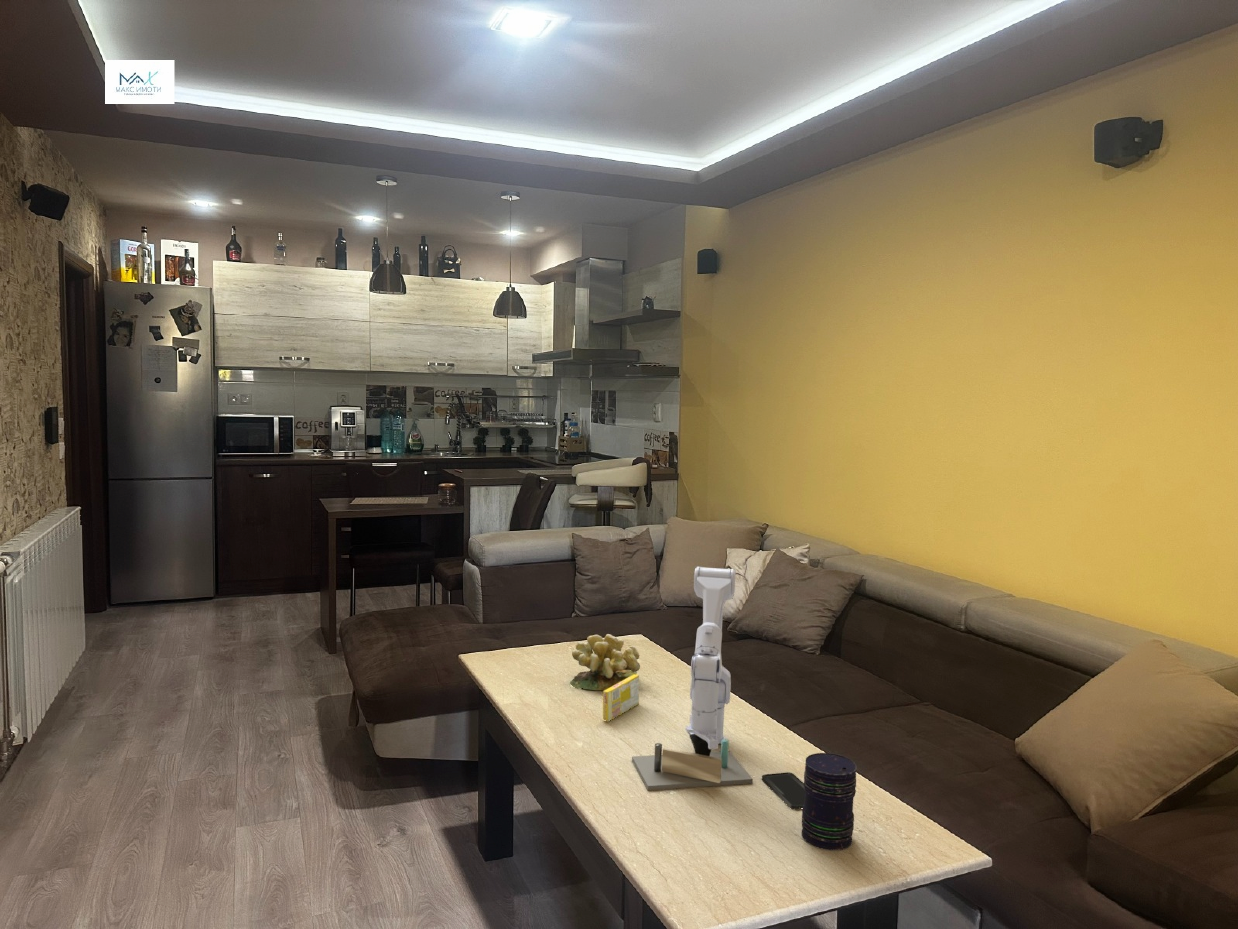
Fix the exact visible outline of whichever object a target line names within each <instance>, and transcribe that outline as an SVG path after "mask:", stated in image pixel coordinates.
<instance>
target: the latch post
mask: <svg viewBox="0 0 1238 929" xmlns="http://www.w3.org/2000/svg"><path fill="white" fill-rule="evenodd" d="M720 745H721V747H720V751H721V759H722V768H727V765H728V751H729V740H728V739H727V740H722V742H721V744H720Z"/></svg>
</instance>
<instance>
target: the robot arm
mask: <svg viewBox="0 0 1238 929" xmlns="http://www.w3.org/2000/svg"><path fill="white" fill-rule="evenodd" d="M693 574H694V575H693V590H694V592H695V593H694V594H695V595H696V597H698V598H700V599H702V602H703V603H702V619H703V620H702V624H701V625H700V626H698V628H697V630H696V635H695V636H696V639H695V649H694V655H692V657H691V664H690V677H691V679H690V686H689V687H690V690H689V698H690V700H691V711H690V712H691V714H690V715H689V725H686V726H685V730H686V731H685V732H687V733H689V739H690V741H691V743H692V747H693V750H694V753H695V754H700V755H705V756H710V752H712V750H719V745H721V742H722V740H728V739H727V737H725V735H724V724H725V723H724V721H725V706H726V705H728V704H729V703H730V701H731V691H732V690H731V687H732V685H731V683H732V681H731V672H730V671H729V670H728V669H727V668H726V667H724V665H723V664H722V663H723V661H722V660H723V659H722V640H723V616H724V615H723V613H724V612H723V611H724V607H725V606H724V605H725V604H726V601H729V600H732V599H733V598H734V597H735V593H736V592H735V591H736V575H737V574H736V570H735V569H734V568H731V569H730V568H719V567H717V568H715V567H704V566H700V565H699V566H696V567H695V569H694V573H693Z"/></svg>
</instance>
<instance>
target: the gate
mask: <svg viewBox="0 0 1238 929" xmlns="http://www.w3.org/2000/svg"><path fill="white" fill-rule="evenodd" d="M721 769H722V759H720V758H715V757H710V756H705V755H700V754H695V752H689V751H684V750H679V749H675V748H674V749H673V748H669V747H662V771H664V772H669V773H674V774H678V775H683V776H688V777H693V778H697V779H702V780H707V781H711V782H716V783H720V782H721Z"/></svg>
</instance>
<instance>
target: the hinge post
mask: <svg viewBox="0 0 1238 929" xmlns="http://www.w3.org/2000/svg"><path fill="white" fill-rule="evenodd" d="M662 753H663V744H662V743H659V742H657V743H655V744H654V755H655V757H654V771H655V772H661V761H662Z"/></svg>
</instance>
